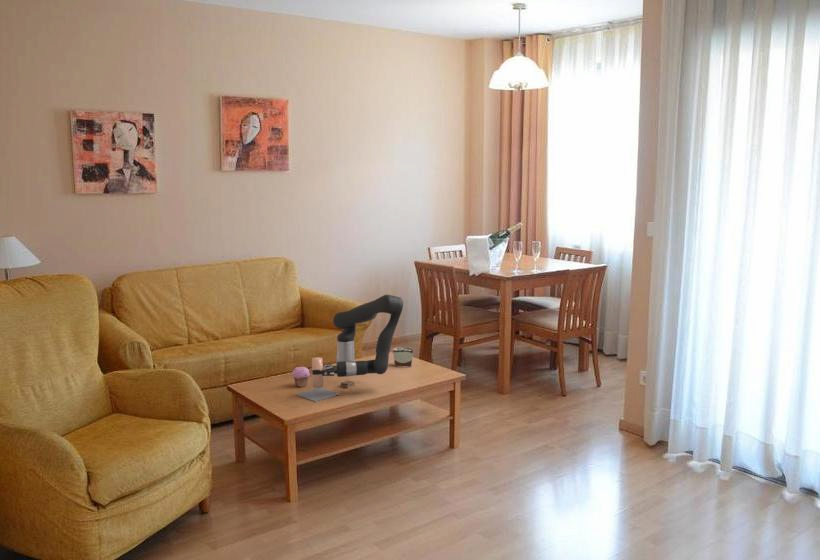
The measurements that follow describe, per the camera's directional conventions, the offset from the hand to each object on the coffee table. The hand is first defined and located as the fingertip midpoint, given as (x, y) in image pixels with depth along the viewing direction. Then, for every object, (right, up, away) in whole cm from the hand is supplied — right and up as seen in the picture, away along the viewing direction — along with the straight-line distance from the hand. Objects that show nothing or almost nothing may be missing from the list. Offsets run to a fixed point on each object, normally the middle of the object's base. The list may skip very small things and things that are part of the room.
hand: (312, 370), depth 357 cm
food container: (+44, -4, +56) cm, 71 cm away
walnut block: (+16, -10, +17) cm, 26 cm away
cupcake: (-8, -10, +18) cm, 22 cm away
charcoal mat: (+2, -12, +3) cm, 13 cm away
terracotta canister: (+3, -8, +2) cm, 8 cm away
